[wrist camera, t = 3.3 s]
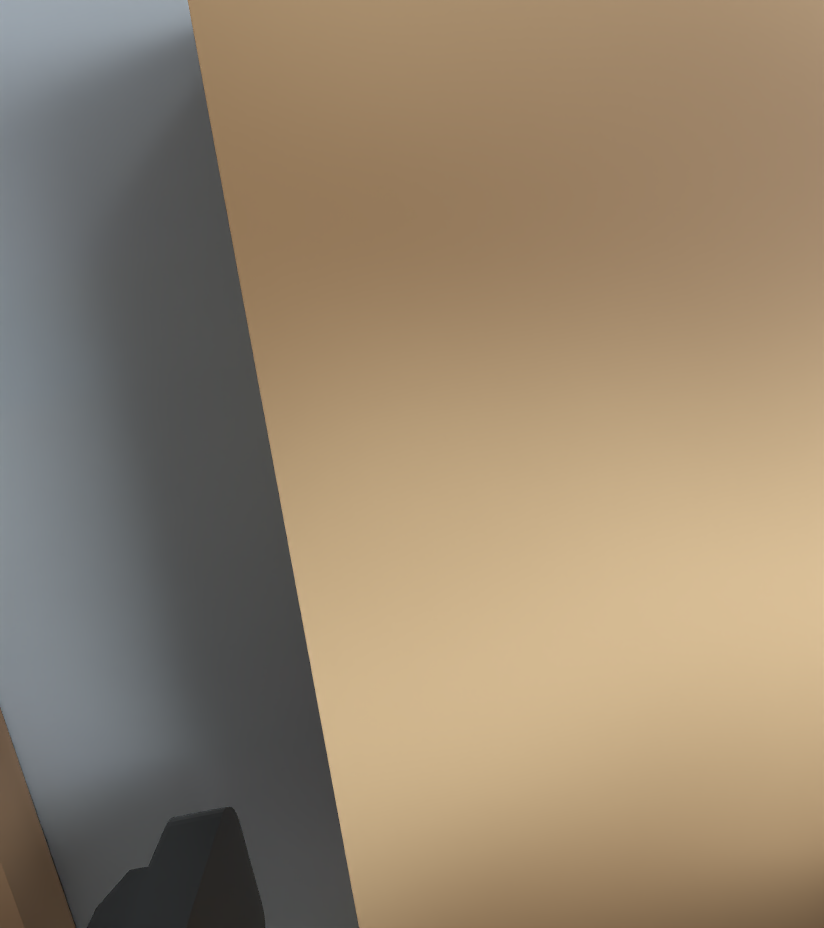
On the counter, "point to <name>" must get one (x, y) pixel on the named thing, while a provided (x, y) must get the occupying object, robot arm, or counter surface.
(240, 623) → the counter surface
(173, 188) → the counter surface
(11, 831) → the ridge stand
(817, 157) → the oak batten
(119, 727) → the counter surface
